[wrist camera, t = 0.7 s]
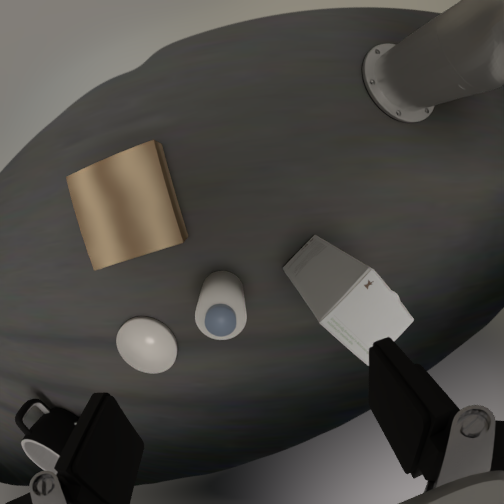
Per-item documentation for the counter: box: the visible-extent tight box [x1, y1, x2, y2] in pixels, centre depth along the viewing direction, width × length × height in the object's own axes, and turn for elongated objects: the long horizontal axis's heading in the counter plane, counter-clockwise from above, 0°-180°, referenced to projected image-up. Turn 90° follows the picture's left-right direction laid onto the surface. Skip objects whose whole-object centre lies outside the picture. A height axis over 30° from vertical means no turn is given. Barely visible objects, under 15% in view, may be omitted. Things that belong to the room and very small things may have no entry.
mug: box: [15, 399, 79, 474], centre depth 36 cm, size 16×16×12 cm
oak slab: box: [66, 140, 188, 271], centre depth 32 cm, size 12×12×4 cm
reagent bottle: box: [195, 271, 247, 340], centre depth 33 cm, size 5×5×9 cm
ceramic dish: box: [116, 316, 178, 373], centre depth 38 cm, size 9×9×1 cm
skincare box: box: [283, 235, 414, 366], centre depth 30 cm, size 8×7×16 cm
